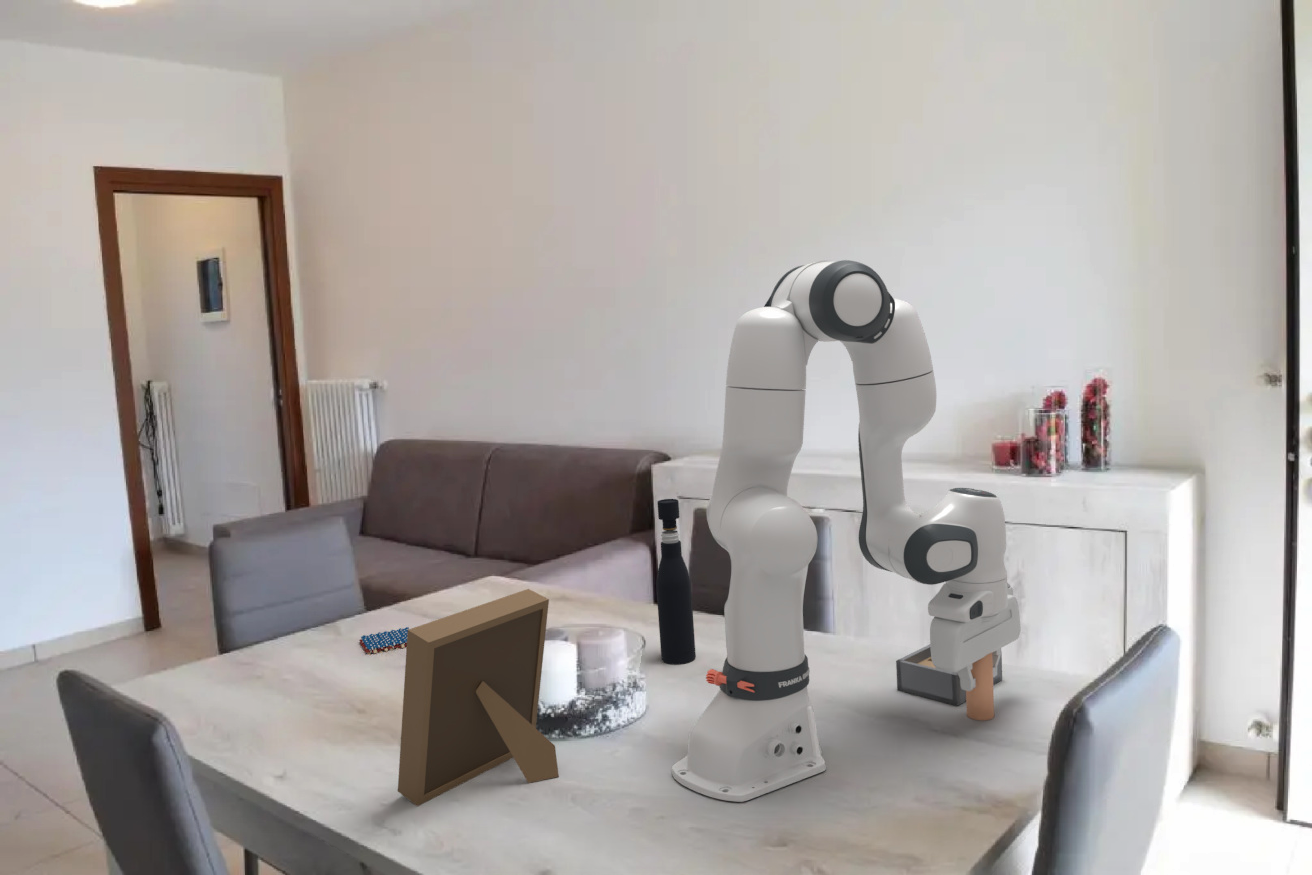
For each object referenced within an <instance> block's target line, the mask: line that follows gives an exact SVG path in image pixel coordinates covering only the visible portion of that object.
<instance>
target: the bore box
mask: <svg viewBox="0 0 1312 875" xmlns="http://www.w3.org/2000/svg"><path fill="white" fill-rule="evenodd" d="M1002 652H1003V651H1002V650H1001V656H1000V659H999V663H998V665H997V676H995V677H994V678H993V686H994V685H996V684H998V683H999V682H1001V681H1002V680H1003V660H1002V659H1003V658H1002V654H1003V653H1002ZM895 664H896V666H895V668H896V669H895V670H896V686H897V687H896V688H897V691H899V692H902V693H907V694H911V695H915V696H918V697H922V698H926V699H930V700H934V701H938V702H941V703H944V704H948V705H952V706H956V707H958V706H960V705H961V704H963V703H965V702H966V690H963V689H961V685H960V677H959V675H958V673H957V672H955V673H952V672H947V671H943V670H939V669H937V668H936V667H935V666H934V664H933V663H932V659H931V648H930V644H927V645H925V646H923V647H922V648H919V649H917V650H915V651H914V652H911V653H909V654H907V655H905V656H902V657H901V658H899V659H897V660H896V661H895Z"/></svg>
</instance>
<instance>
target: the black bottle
mask: <svg viewBox="0 0 1312 875" xmlns="http://www.w3.org/2000/svg"><path fill="white" fill-rule="evenodd" d="M657 514H658V515H657V516H658V520H661V522H662V530H663V531H661V542H660V554H661V558H660V560H659V565H658V569H657V575H656V582H655V585H656V599H657V600H656V601H657V615H658V629H659V630H658V631H659V643H660V644H659V645H660V656H661V661H662V662H663V663H666V664H667V665H669V664H670V665H685V664H689V663H691V662H693V661H694V660H695V659H696V656H697V654H696V641H695V639H696V638H695V628H694V627H695V625H694V624H695V622H694V611H693V610H694V609H693V599H692V598H693V597H692V595H693V594H692V581H691V577H690V573H689V570H688V567H687V565H686V562H685V560H684V558H683V555H682V554H683V552H682V542H681V540H680V533H679V530H677V529H678V527H677V520H678V519H679V518H680V503H679V499H677V498H665V499H660V500H657Z"/></svg>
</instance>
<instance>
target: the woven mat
mask: <svg viewBox="0 0 1312 875" xmlns="http://www.w3.org/2000/svg"><path fill="white" fill-rule="evenodd" d="M409 629H410V627H409V626H408V627H405V628H404V627H402V628H398V629H396V630H394V629H391V630H388V631H387V630H385V631H381V632H380V631H379V632H377V633H375V634H373V633H370V634H366V635H365V634H364V635H362V636H360V638H361V639H359V640H358V641H359V645H360V646H361V647H362V648H363V651H364V652H365V653H367V655H368V656H371V655H372V654H374V655H375V654H378V653H380V654H383V651H384V652H386V653H387V652H388V651H394V649H396V650H400V649H405V648H407V633H408V630H409Z"/></svg>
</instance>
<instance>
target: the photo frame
mask: <svg viewBox="0 0 1312 875" xmlns="http://www.w3.org/2000/svg"><path fill="white" fill-rule="evenodd" d="M549 602H550V599H549V598H547V597H545V596H543V595H541V594H539V593H537V592H535V591H534V590H532V589H529V588H527V589H523V590H521V591H518V592H515V593H512V594H509V595H506V596H503V597H500V598H498V599H497V598H496V599H495V600H492V601H489V602H486V603H482V604H479V605H477V606H474V607H471V608H468V609H465V610H462V611H459V612H456V613H453V614H451V615H448V616H444V617H441V618H438V619H436V620H433V621H429V622H427V623H424V624H420V625H417V626H415V627H413V628H412V627H411V628H409V630H408V629H407V630H408V633H407V647H406V655H405V668H404V685H403V699H402V702H403V703H402V717H401V719H402V720H401V731H400V732H401V733H400V745H399V746H400V748H399V749H400V750H399V763H398V764H399V765H398V781H397V792H398V793H399V794H400V795H402V796H403V797H405V799H407V800H408V801H410V803H412V804H414V805H415V806H417V807H419V806H421V805H423V804H424V803H427V802H430V801H431V800H432V799H434V798H437V797H438V796H441V795H443V794H444V793H447V792H448V791H450V790H452V789H454V788H456V787H459V786H460V785H463V784H464V783H466V782H468V781H470V780H472V779H474V778H476V777H478V776H480V775H482V774H484V773H486V772H488V771H490V770H491V769H494V768H495V767H498V766H500V765H501V764H504V763H506V762H507V761H510V760H512V759H514V761H515V763H516V764H517V766H518V768H519V769H520V771H521V773H522V775H523V776H524V778H525V780H526V782H527V783H528V784H530V783H532V784H533V783H537V782H540V781H545V780H548V779H550V780H551V779H555V778H559V768H558V760H557V754H556V753H557V752H556V751H557V750H556V745H555V744H554V742H551V741H550V740H549V738H547V737H546V736H545V735H544V734H543V733H542V732H540V731H539V730H538V729H537V721H538V719H537V718H538V712H539V711H538V710H539V709H538V708H539V700H540V690H541V682H542V679H541V678H542V672H543V671H542V670H543V660H544V653H545V642H546V641H545V640H546V633H547V631H546V630H547V622H548V613H549Z"/></svg>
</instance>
